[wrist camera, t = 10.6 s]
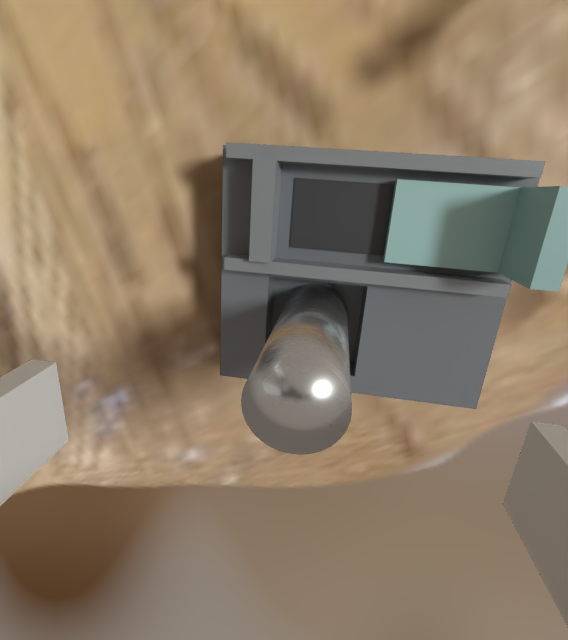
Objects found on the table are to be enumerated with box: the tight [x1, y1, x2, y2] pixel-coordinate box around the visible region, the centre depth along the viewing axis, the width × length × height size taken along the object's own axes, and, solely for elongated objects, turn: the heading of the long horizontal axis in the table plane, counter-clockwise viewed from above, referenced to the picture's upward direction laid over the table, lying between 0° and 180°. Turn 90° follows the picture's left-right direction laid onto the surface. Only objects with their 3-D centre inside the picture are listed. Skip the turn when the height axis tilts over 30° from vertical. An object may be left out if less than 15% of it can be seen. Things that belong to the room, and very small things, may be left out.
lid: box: [383, 179, 568, 292], centre depth 15 cm, size 6×4×4 cm, turn 86°
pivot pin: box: [241, 284, 352, 454], centre depth 17 cm, size 4×4×10 cm
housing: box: [220, 142, 545, 409], centre depth 19 cm, size 14×12×4 cm
